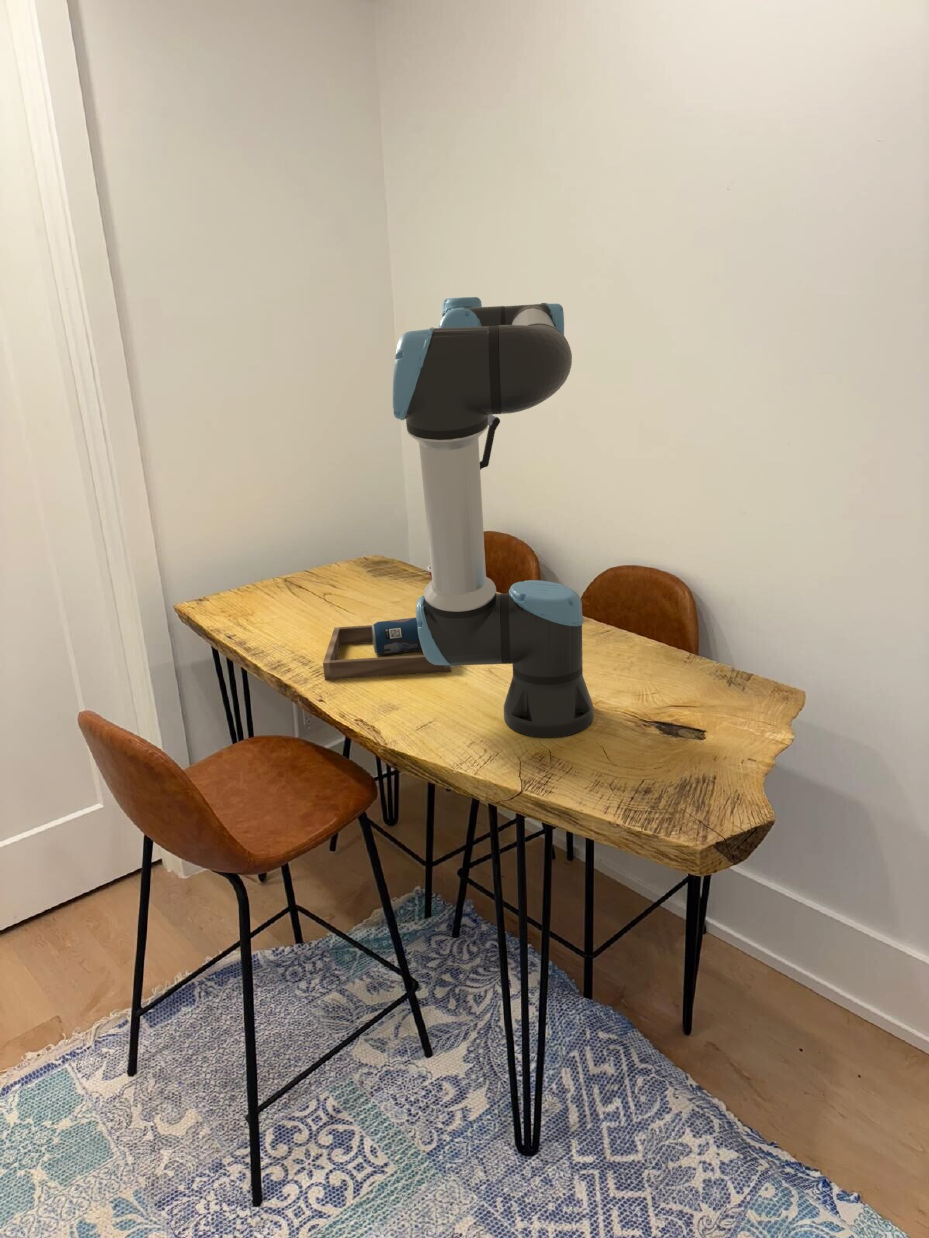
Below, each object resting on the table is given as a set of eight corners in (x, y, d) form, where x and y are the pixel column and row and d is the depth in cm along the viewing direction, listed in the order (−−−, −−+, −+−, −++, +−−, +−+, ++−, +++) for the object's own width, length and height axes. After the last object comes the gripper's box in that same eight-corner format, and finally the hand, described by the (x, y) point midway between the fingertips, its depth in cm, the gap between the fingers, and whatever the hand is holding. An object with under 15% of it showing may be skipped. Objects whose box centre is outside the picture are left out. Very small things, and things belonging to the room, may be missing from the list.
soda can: (370, 626, 177) (427, 620, 179) (374, 658, 175) (431, 652, 177) (371, 618, 170) (429, 612, 172) (375, 652, 168) (434, 644, 170)
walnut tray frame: (451, 672, 163) (450, 655, 162) (324, 679, 163) (322, 663, 161) (449, 635, 182) (448, 620, 181) (336, 642, 181) (334, 627, 180)
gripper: (497, 379, 166) (502, 497, 174) (432, 383, 166) (439, 500, 174) (500, 382, 159) (505, 504, 167) (432, 385, 158) (439, 508, 166)
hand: (471, 502), depth 170 cm, fingers closed
